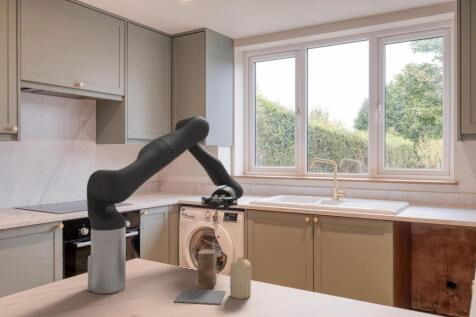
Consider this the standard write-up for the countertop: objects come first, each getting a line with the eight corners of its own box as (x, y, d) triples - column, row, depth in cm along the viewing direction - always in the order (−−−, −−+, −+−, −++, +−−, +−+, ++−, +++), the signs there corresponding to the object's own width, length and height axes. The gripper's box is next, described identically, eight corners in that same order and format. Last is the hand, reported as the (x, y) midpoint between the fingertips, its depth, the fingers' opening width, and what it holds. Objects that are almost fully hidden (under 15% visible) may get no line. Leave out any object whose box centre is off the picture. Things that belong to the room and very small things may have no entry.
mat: (174, 302, 99) (174, 300, 99) (183, 289, 108) (183, 288, 108) (220, 304, 97) (220, 303, 97) (225, 291, 106) (225, 290, 106)
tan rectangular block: (197, 288, 109) (198, 253, 109) (201, 282, 113) (201, 248, 113) (213, 289, 108) (213, 253, 108) (216, 283, 113) (216, 249, 113)
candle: (248, 299, 100) (249, 261, 100) (228, 298, 102) (228, 260, 101) (252, 292, 106) (252, 256, 106) (232, 290, 107) (232, 255, 107)
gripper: (205, 187, 139) (194, 192, 122) (241, 187, 138) (235, 193, 120) (205, 208, 139) (193, 215, 122) (241, 208, 138) (235, 217, 121)
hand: (214, 204), depth 121 cm, fingers closed
